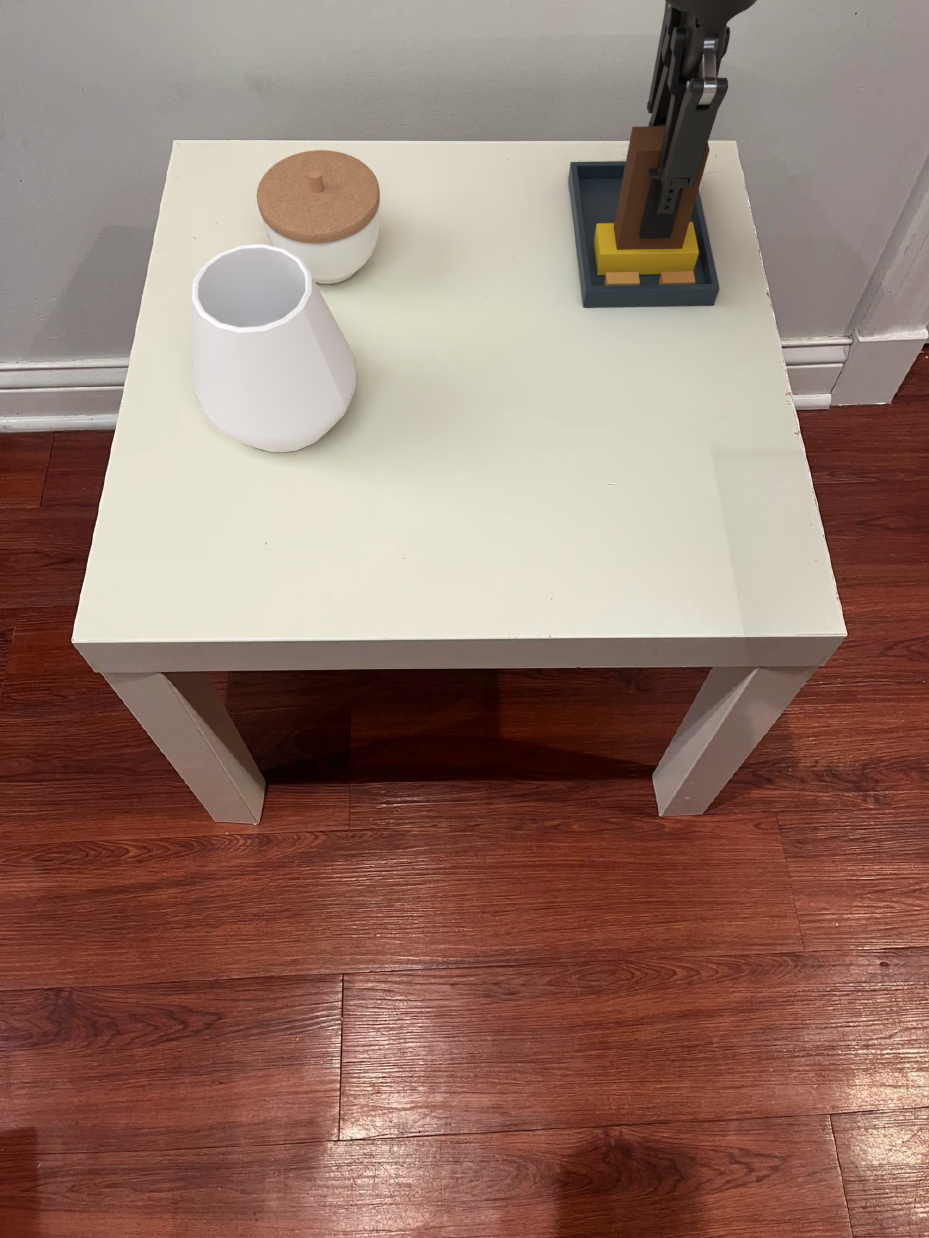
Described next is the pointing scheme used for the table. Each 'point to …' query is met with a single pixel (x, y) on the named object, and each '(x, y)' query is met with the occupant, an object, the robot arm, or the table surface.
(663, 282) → the crumb
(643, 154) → the brush
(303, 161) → the trinket box
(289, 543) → the table surface
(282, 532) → the table surface
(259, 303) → the white vase
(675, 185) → the robot arm
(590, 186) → the tray
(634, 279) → the crumb
